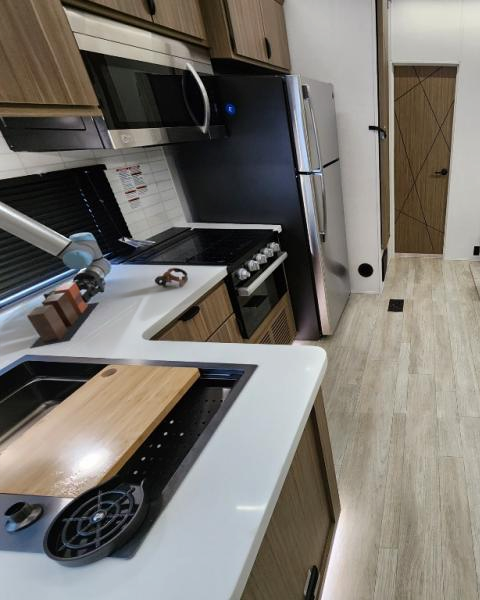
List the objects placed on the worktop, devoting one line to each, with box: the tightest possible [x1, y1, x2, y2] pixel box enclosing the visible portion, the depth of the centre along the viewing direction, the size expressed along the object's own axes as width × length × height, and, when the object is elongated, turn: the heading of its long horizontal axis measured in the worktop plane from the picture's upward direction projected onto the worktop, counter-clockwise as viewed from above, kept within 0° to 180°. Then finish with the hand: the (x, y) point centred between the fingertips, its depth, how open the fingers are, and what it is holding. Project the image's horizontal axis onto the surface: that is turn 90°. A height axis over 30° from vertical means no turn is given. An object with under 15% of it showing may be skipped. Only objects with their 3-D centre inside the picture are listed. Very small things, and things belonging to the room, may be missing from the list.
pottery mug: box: [154, 267, 189, 288], centre depth 140 cm, size 12×10×8 cm
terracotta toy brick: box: [54, 282, 88, 314], centre depth 120 cm, size 4×6×10 cm
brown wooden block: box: [41, 293, 79, 327], centre depth 113 cm, size 4×6×10 cm
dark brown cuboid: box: [26, 305, 68, 343], centre depth 105 cm, size 4×6×10 cm
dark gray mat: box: [29, 301, 100, 349], centre depth 115 cm, size 28×10×1 cm, turn 23°
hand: (65, 302), depth 116 cm, fingers open, 10 cm apart
